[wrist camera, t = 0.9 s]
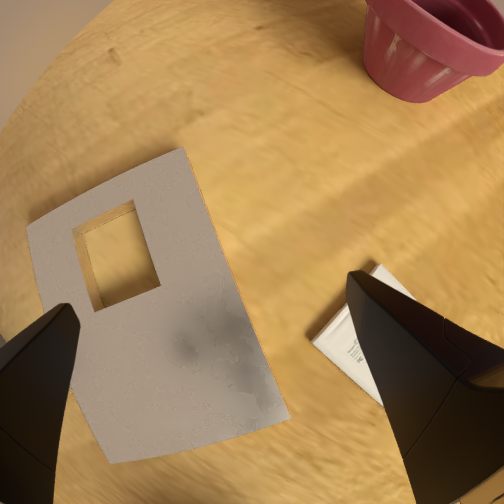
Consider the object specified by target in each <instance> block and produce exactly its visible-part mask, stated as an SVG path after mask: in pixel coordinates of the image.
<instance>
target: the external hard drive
mask: <svg viewBox="0 0 504 504" xmlns="http://www.w3.org/2000/svg"><path fill="white" fill-rule="evenodd" d="M369 275H371V276H373V277H375V278H377V279H378V280H380V281H382V282H384V283H386V284H387V285H389V286H391V287H393V288H394V289H396V290H398V291H400V292H401V293H403V294H405V295H407V296H408V297H410V298H412V299H414V300H415V301H417V300H416V299H415V298H414V297H413V296H412V295H411V294H410V293H409V292H408V291H407V290H406V289H405V288H404V287H403V286H402V284H401V283H400V282H399V281H398V280H397V279H396V278H395V277H394V276H393V275H392V274H391V273H390V272H389V271H388V270H387V269H386V268H385V267H384V266H383V265H382V264H381V263H379V264H377V265H376V266H375V267H374V269H373V270H372V271H371V272H370V274H369ZM417 302H418V301H417ZM311 343H312V344H313V345H314V346H316V347H317V348H318V349H319V350H320V351H321V352H322V353H323V354H324V355H325V356H327V357H328V358H329V359H330V360H331V361H332V362H333V363H334V364H335V365H337V366H338V367H339V368H340V369H341V370H342V371H343V372H344V373H345V374H347V375H348V376H349V377H350V378H351V379H352V380H353V381H354V382H356V383H357V384H358V385H359V386H360V387H361V388H362V389H364V390H365V391H366V392H367V393H368V394H369V395H370V396H372V397H373V398H374V399H375V400H376V401H377V402H378V403H380V404H381V405H382V406H383V403H382V400H381V398H380V395H379V392H378V390H377V387H376V385H375V382H374V380H373V377H372V374H371V372H370V369H369V367H368V364H367V362H366V360H365V357H364V355H363V352H362V350H361V347H360V345H359V342H358V339H357V336H356V332H355V329H354V325H353V322H352V318H351V315H350V311H349V308H348V304H347V302H346V304H345V305H344V306H343V307H342V308H341V309H340V310H338V312H337V313H336V314H335V315H334V316H333V317H332V318H331V319H330V321H329V322H328V323H327V324H326V325H325V326H324V327H323V328H322V329H321V331H320V332H319V333H318V334H317V335H316V336H315V337H314V338H313V339H312V340H311ZM383 407H384V406H383Z"/></svg>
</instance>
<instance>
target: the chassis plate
mask: <svg viewBox="0 0 504 504" xmlns="http://www.w3.org/2000/svg"><path fill="white" fill-rule="evenodd" d="M134 209H136V211H137V214H138V217H139V221H140V224H141V227H142V230H143V234H144V237H145V240H146V243H147V246H148V249H149V252H150V255H151V258H152V261H153V264H154V267H155V270H156V273H157V276H158V278H159V281H160V284H161V286H159V287H157V288H154V289H152V290H149V291H147V292H144V293H142V294H139V295H137V296H134V297H132V298H129V299H127V300H124V301H122V302H119V303H117V304H114V305H112V306H109V307H107V308H104V305H103V302H102V299H101V296H100V293H99V290H98V286H97V283H96V280H95V276H94V273H93V270H92V266H91V262H90V259H89V255H88V251H87V247H86V244H85V240H84V235H83V234H84V233H86V232H88V231H90V230H92V229H94V228H96V227H98V226H100V225H102V224H104V223H106V222H108V221H110V220H112V219H114V218H117V217H119V216H121V215H123V214H125V213H127V212H129V211H132V210H134ZM26 230H27V236H28V242H29V248H30V253H31V258H32V263H33V268H34V273H35V277H36V281H37V285H38V290H39V293H40V297H41V301H42V305H43V308H44V312H45V313H47V312H48V311H49V310H51V309H52V308H53V307H55V306H56V305H58V304H59V303H70V304H71V305H72V307H73V309H74V311H75V313H76V315H77V317H78V319H79V321H80V325H81V329H80V334H79V340H78V346H77V352H76V359H75V365H74V370H73V374H72V378H71V383H70V386H71V388H72V390H73V393H74V395H75V397H76V399H77V402H78V404H79V406H80V408H81V410H82V412H83V414H84V416H85V419H86V421H87V423H88V425H89V427H90V429H91V430H92V432H93V434H94V436H95V438H96V440H97V442H98V444H99V446H100V447H101V449H102V451H103V453H104V454H105V456H106V458H107V460H108V461H109V463H110V464H115V463H123V462H129V461H136V460H142V459H148V458H153V457H159V456H164V455H168V454H173V453H178V452H182V451H187V450H191V449H195V448H199V447H203V446H207V445H211V444H214V443H218V442H221V441H225V440H228V439H232V438H235V437H238V436H242V435H245V434H248V433H251V432H254V431H257V430H260V429H263V428H266V427H269V426H272V425H274V424H277V423H280V422H283V421H285V420H288V419H291V416H290V413H289V409H288V407H287V404H286V402H285V400H284V397H283V395H282V393H281V390H280V388H279V386H278V383H277V381H276V379H275V376H274V374H273V372H272V369H271V367H270V364H269V362H268V360H267V357H266V355H265V352H264V350H263V348H262V345H261V343H260V340H259V338H258V335H257V333H256V331H255V328H254V326H253V323H252V321H251V318H250V316H249V313H248V311H247V308H246V306H245V303H244V301H243V298H242V296H241V293H240V291H239V288H238V286H237V283H236V281H235V278H234V276H233V273H232V271H231V268H230V266H229V263H228V261H227V258H226V256H225V253H224V250H223V248H222V245H221V243H220V240H219V238H218V235H217V232H216V230H215V227H214V225H213V222H212V219H211V217H210V214H209V211H208V209H207V206H206V204H205V201H204V198H203V196H202V193H201V190H200V188H199V185H198V182H197V180H196V177H195V174H194V172H193V169H192V166H191V163H190V161H189V158H188V156H187V154H186V151H185V149H184V147H180V148H178V149H175V150H173V151H171V152H168V153H166V154H164V155H161V156H159V157H157V158H154V159H152V160H150V161H148V162H146V163H143V164H141V165H139V166H137V167H135V168H133V169H130V170H128V171H126V172H124V173H122V174H120V175H118V176H116V177H114V178H112V179H110V180H108V181H106V182H104V183H102V184H100V185H98V186H96V187H94V188H92V189H90V190H88V191H87V192H85V193H83V194H81V195H79V196H77V197H75V198H74V199H72V200H70V201H68V202H66V203H65V204H63V205H61V206H59V207H58V208H56V209H54V210H52V211H51V212H49V213H47V214H46V215H44V216H42V217H41V218H39V219H37V220H36V221H34V222H32V223H31V224H29V225H28V226H26Z"/></svg>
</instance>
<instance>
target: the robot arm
mask: <svg viewBox="0 0 504 504" xmlns="http://www.w3.org/2000/svg"><path fill="white" fill-rule="evenodd" d="M346 301H347V304H348V308H349V311H350V315H351V318H352V322H353V325H354V329H355V332H356V336H357V339H358V342H359V345H360V347H361V350H362V352H363V355H364V357H365V360H366V362H367V364H368V367H369V369H370V372H371V374H372V377H373V380H374V382H375V385H376V387H377V390H378V392H379V395H380V398H381V400H382V403H383V406H384V408H385V411H386V414H387V416H388V419H389V422H390V425H391V427H392V430H393V433H394V436H395V439H396V441H397V444H398V447H399V450H400V453H401V456H402V459H403V462H404V465H405V468H406V471H407V475H408V478H409V481H410V484H411V487H412V490H413V494H414V497H415V500H416V504H456V503H458V502H460V504H504V349H503V348H501V347H499V346H497V345H495V344H493V343H491V342H489V341H487V340H485V339H483V338H481V337H479V336H477V335H475V334H473V333H471V332H469V331H467V330H465V329H464V328H462V327H460V326H458V325H457V324H455V323H453V322H452V321H450V320H448V319H446V318H445V319H444V317H443V316H441V315H440V314H438V313H436V312H434V311H433V310H431V309H429V308H428V307H426V306H424V305H422V304H421V303H419V302H417V301H415V300H414V299H412V298H410V297H408V296H407V295H405V294H403V293H401V292H400V291H398V290H396V289H394V288H393V287H391V286H389V285H387V284H386V283H384V282H382V281H380V280H378V279H377V278H375V277H373V276H371V275H369V274H368V273H366V272H364V271H362V270H356V271H350V272H349V273H348V275H347V284H346ZM80 329H81V325H80V321H79V319H78V317H77V315H76V313H75V311H74V309H73V307H72V305H71V304H70V303H59V304H58V305H56V306H55V307H53V308H52V309H51V310H49V311H48V312H47V313H45V314H44V315H43V316H41V317H40V318H39V319H37V320H36V321H35V322H33V323H32V324H31V325H29V326H28V327H27V328H25V329H24V330H23V331H21V332H20V333H19V334H18V335H16V336H15V337H14V338H12V339H11V340H10V341H9V342H7V343H6V344H5V345H4V346H2V347H1V348H0V504H53V498H54V484H55V472H56V463H57V455H58V448H59V441H60V434H61V428H62V422H63V417H64V411H65V406H66V401H67V396H68V392H69V387H70V383H71V378H72V374H73V370H74V365H75V359H76V352H77V346H78V340H79V334H80Z"/></svg>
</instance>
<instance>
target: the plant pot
mask: <svg viewBox="0 0 504 504" xmlns="http://www.w3.org/2000/svg"><path fill="white" fill-rule="evenodd" d="M365 1H366V2H367V12H366V23H365V35H364V46H363V54H362V58H363V63H364V66H365V68H366V70H367V72H368V74H369V75H370V77H371V78H372V79H373V80H374V81H375V82H376V83H377V84H378V85H379V86H380V87H381V88H382V89H384V90H385V91H386V92H388V93H389V94H391V95H393V96H395V97H397V98H399V99H401V100H404V101H407V102H412V103H424V102H428V101H430V100H432V99H433V98H435V97H437V96H438V95H440V94H442V93H444V92H445V91H447V90H449V89H451V88H452V87H454V86H456V85H458V84H459V83H461V82H463V81H464V80H466V79H468V78H469V77H471V76H480V77H483V76H488V75H490V74H492V73H493V72H494V71H495V70H497V69H498V68H499V67H500V66H501V65H502V64H503V63H504V17H503V15H502V14H501V12H500V11H499V10H498V9H497V8H496V6H495V5H494V4H493V3H492V2H491V1H490V0H365Z"/></svg>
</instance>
